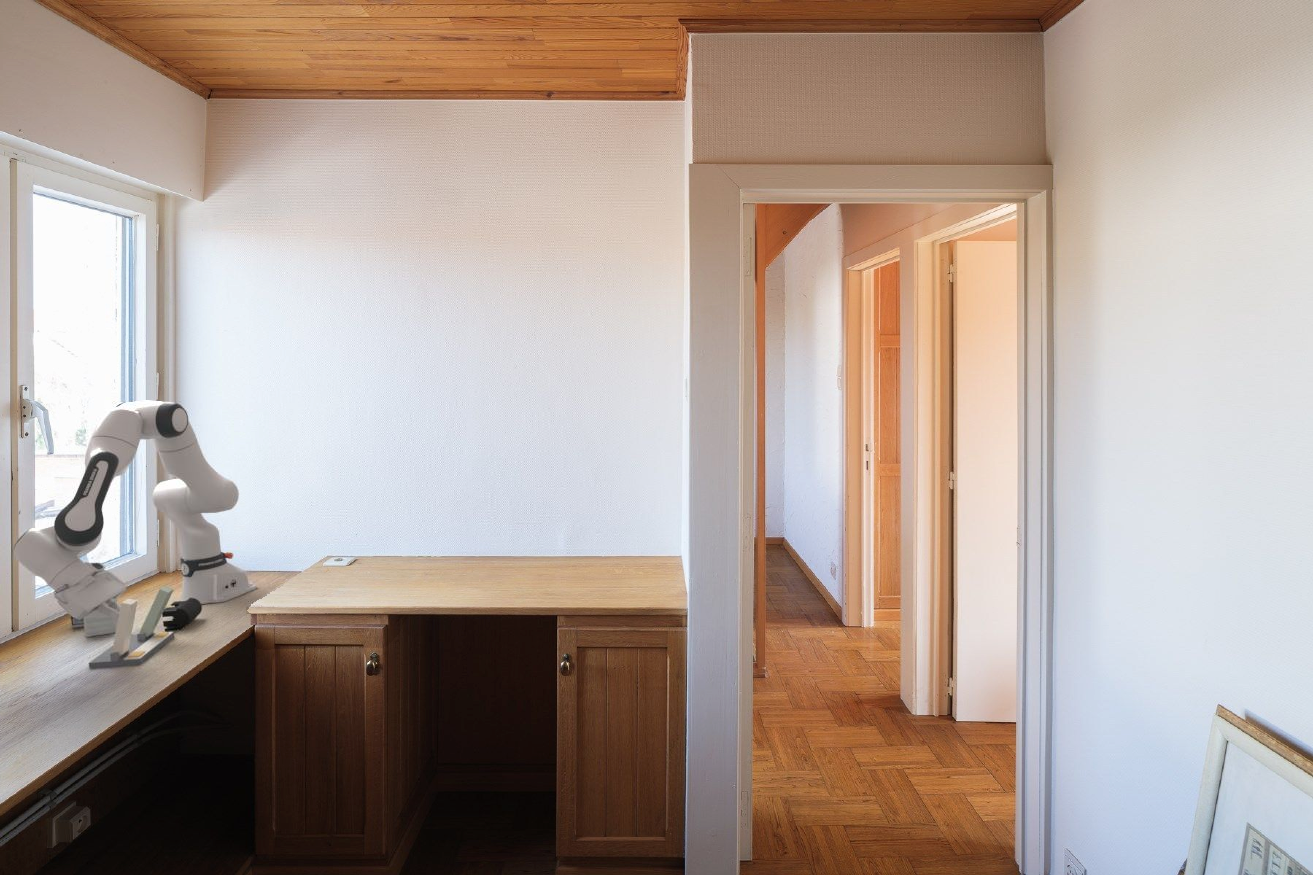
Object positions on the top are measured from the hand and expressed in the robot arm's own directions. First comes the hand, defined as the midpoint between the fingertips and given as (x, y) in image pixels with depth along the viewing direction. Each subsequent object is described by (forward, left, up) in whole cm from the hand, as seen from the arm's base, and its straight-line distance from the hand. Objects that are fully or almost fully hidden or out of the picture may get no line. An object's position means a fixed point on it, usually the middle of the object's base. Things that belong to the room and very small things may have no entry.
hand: (119, 615), depth 210 cm
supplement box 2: (-11, -30, -13) cm, 34 cm away
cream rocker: (0, -1, -10) cm, 10 cm away
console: (-5, -5, -13) cm, 14 cm away
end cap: (-24, -13, -13) cm, 30 cm away
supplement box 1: (-13, -43, -13) cm, 47 cm away
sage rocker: (-11, -9, -10) cm, 18 cm away
